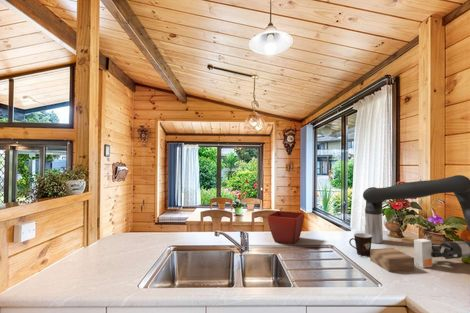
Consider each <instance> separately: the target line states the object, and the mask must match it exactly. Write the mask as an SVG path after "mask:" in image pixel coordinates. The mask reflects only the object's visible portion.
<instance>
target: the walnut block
mask: <svg viewBox="0 0 470 313" xmlns="http://www.w3.org/2000/svg"><path fill="white" fill-rule="evenodd" d="M369 257H370V262H372V263H374V264H375V265H377V266H379V267H380V268H381V269H383V270H385V271H386V272H388V273H397V272H398V273H399V272H400V273H401V272H413V271H415V272H416V270H415V259H414V256H411V255H410V254H406V253H405V252H403V251H400V250H399V249H396V248H394V247H388V248H387V247H386V248H371V249H370V256H369Z"/></svg>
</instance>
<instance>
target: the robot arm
mask: <svg viewBox="0 0 470 313" xmlns="http://www.w3.org/2000/svg"><path fill="white" fill-rule="evenodd" d="M448 193H449V194H451V193H453V195H455V198H456V199H457V201H458V203H459V206H460V208H461V211H462V214H463V218H464V220H465V223H466V226H467V228H468V231H469V232H470V177H468V176H465V175H461V174H457V175H453V176H447V177H444V178H437V179H433V180H432V179H431V180H430V179H429V180H428V179H427V180H417V181H416V180H415V181H409V182H402V183H398V184H395V185H391V186H385V187H376V186H375V187H374V186H372V187H371V186H370V187H368V188H365V190H364V191H363V193H362V198H363V200H365V208H364V218H365V224H364V233H365V234H369V235H372V241H371V244H382V243H384V237H383V236H384V235H383V234H384V233H383V232H384V228H383V201H390V200H408V199H409V200H411V199H419V198H425V197H429V196H433V195H438V194H448ZM431 256H432V258H441V259H445V260H451V259H464V258H470V241H469V240H465V241H461V240H460V241H459V240H455V241H443V242H441V243H440V245H439V244H436V245H435V244H434V243H432V252H431Z"/></svg>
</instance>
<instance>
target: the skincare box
mask: <svg viewBox="0 0 470 313" xmlns="http://www.w3.org/2000/svg"><path fill="white" fill-rule="evenodd" d="M432 244H433V243H432V240H431V239H430V240H429V239H426V238H417V239H413V250H414V251H413V253H414V254H413V258H414V266H416V267H419V268H422V269H424V268H431V267H433V257H432V256H431V252H432V251H433V249H432Z"/></svg>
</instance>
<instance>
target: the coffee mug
mask: <svg viewBox="0 0 470 313" xmlns="http://www.w3.org/2000/svg"><path fill="white" fill-rule="evenodd" d="M353 236H354V237H353V238H350V239H349V241H348V243H349V245H350V246H351V247H352V248H354V249H355V250H356V254H357V255H358V256H361V257H362V256H363V257H370V249H372V243H371V241H372V235H369V234H365V232H364V233H363V232H357V233H354V234H353ZM353 240H354V242H355V246H354V245H353V244H352V242H351V241H353Z"/></svg>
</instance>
